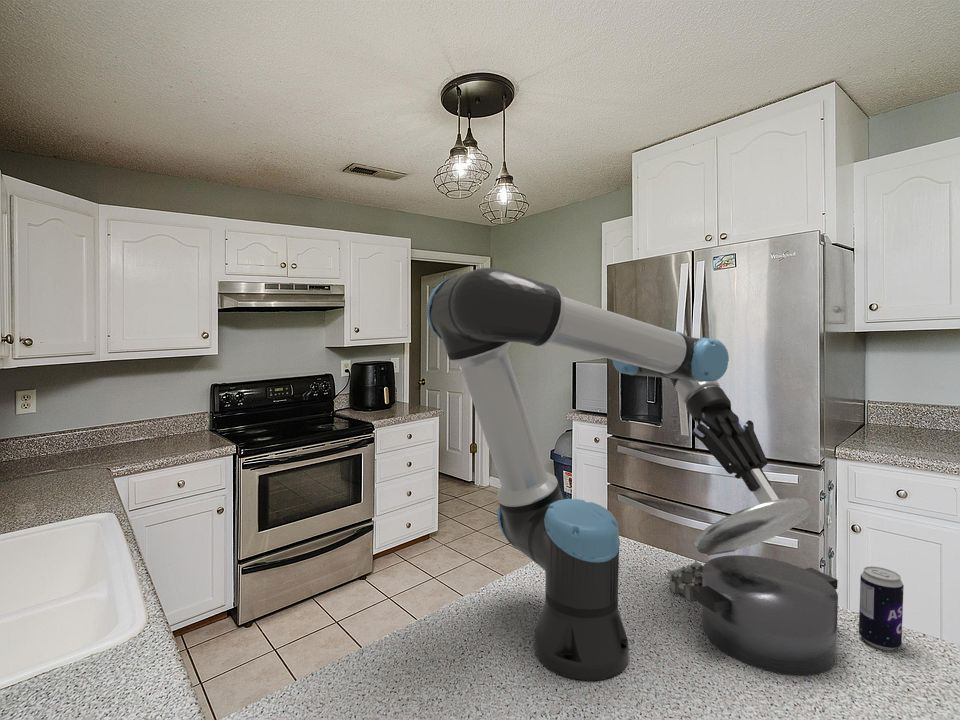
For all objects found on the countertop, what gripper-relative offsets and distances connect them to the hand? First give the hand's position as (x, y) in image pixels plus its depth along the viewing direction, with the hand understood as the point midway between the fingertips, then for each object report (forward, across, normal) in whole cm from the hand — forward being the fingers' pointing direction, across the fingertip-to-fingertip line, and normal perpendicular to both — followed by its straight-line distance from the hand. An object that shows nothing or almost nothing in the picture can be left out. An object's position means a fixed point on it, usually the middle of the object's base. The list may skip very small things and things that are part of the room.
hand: (772, 506), depth 87 cm
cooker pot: (+16, 0, -16) cm, 23 cm away
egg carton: (+4, 0, -30) cm, 30 cm away
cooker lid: (+1, 0, -7) cm, 7 cm away
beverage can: (+21, -17, -12) cm, 29 cm away
